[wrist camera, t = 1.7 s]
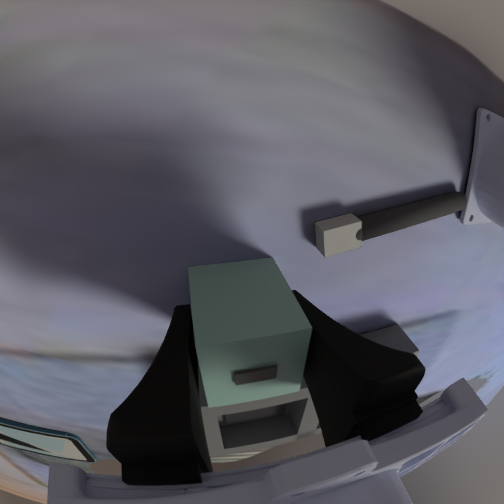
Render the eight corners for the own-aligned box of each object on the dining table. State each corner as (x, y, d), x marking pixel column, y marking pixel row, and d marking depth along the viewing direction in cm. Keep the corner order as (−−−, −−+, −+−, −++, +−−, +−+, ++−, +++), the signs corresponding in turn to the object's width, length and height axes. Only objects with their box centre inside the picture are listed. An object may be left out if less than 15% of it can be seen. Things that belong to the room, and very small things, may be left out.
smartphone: (99, 463, 22) (-5, 443, 18) (99, 456, 23) (-3, 437, 19) (76, 437, 18) (-36, 411, 14) (77, 428, 19) (-34, 404, 15)
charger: (272, 256, 14) (314, 330, 10) (269, 319, 16) (300, 393, 12) (188, 266, 13) (195, 349, 9) (197, 329, 15) (208, 410, 11)
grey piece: (397, 323, 19) (419, 350, 17) (369, 386, 23) (383, 410, 21) (187, 367, 16) (191, 408, 14) (203, 425, 20) (209, 456, 18)
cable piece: (458, 186, 15) (471, 192, 14) (456, 206, 15) (468, 213, 14) (313, 221, 14) (324, 232, 13) (315, 246, 14) (325, 258, 13)
